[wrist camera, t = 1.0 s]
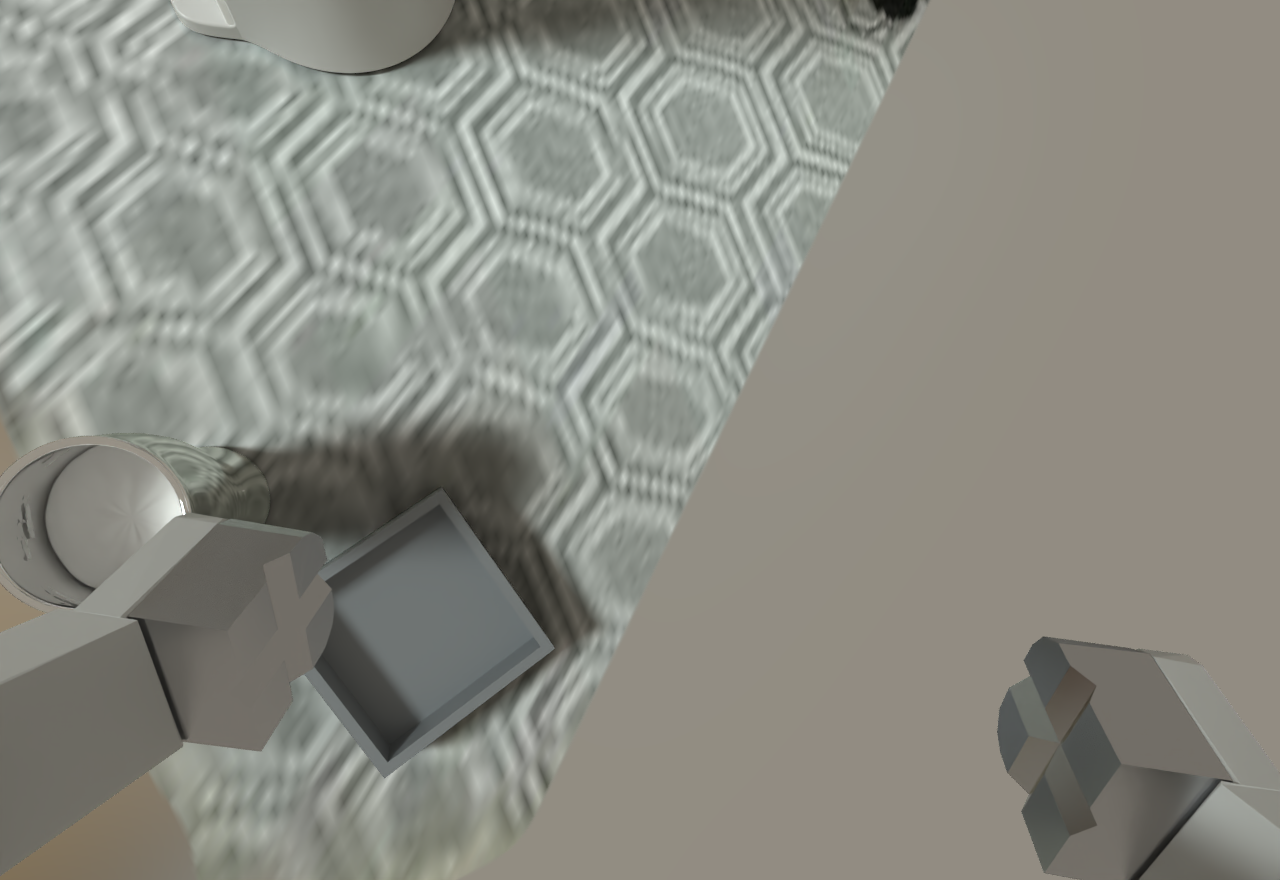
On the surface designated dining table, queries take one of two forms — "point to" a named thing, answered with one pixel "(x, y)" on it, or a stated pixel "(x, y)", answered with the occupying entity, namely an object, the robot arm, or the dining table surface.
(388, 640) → the box
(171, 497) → the silver tall rounded piece
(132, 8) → the dining table surface
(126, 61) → the dining table surface
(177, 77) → the dining table surface
